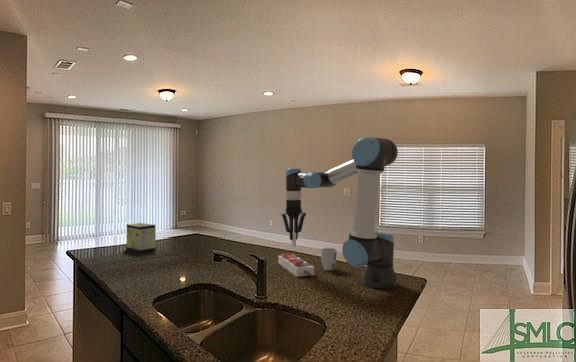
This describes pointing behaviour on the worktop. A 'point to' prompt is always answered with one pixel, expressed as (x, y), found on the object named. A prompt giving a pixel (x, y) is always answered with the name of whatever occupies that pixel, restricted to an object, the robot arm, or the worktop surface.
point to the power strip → (296, 266)
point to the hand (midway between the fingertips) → (293, 246)
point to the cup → (328, 258)
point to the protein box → (141, 237)
